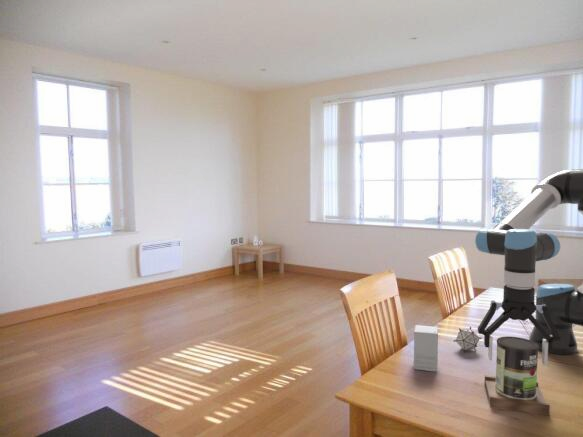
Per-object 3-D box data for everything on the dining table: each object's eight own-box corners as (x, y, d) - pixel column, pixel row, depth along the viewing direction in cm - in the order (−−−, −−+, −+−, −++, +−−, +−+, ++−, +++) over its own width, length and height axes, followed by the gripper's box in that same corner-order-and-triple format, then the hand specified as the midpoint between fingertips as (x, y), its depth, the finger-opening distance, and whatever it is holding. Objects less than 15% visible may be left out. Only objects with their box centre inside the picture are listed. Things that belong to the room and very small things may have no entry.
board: (537, 391, 126) (537, 381, 125) (549, 415, 112) (549, 405, 112) (484, 384, 130) (484, 375, 130) (490, 407, 117) (490, 397, 116)
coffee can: (545, 396, 118) (547, 346, 117) (518, 404, 114) (520, 352, 113) (512, 380, 128) (514, 334, 127) (486, 387, 124) (488, 339, 123)
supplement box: (437, 363, 145) (438, 326, 144) (437, 372, 138) (438, 333, 137) (414, 360, 148) (415, 324, 146) (413, 369, 141) (413, 331, 140)
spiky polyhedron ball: (472, 361, 155) (485, 346, 149) (449, 352, 157) (461, 336, 150) (473, 342, 162) (485, 326, 156) (450, 333, 163) (462, 317, 157)
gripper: (567, 285, 118) (564, 360, 120) (468, 280, 126) (467, 351, 128) (576, 292, 111) (572, 372, 113) (470, 286, 119) (469, 361, 121)
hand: (516, 361), depth 121 cm, fingers open, 13 cm apart
